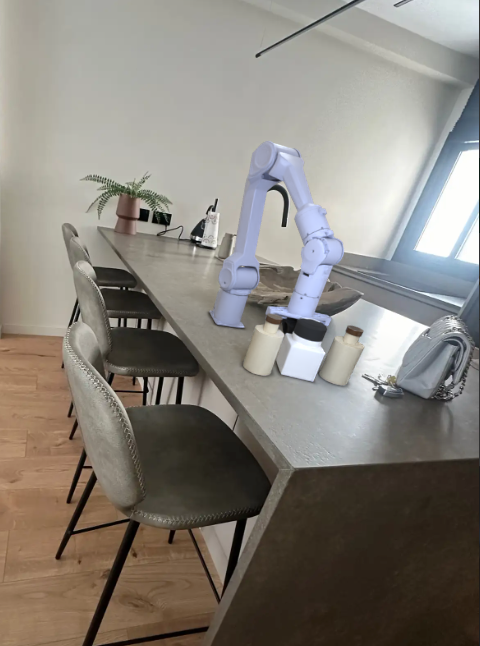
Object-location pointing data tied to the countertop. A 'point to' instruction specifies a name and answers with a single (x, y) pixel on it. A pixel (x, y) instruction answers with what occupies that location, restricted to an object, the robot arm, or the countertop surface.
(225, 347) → the countertop surface
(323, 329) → the medicine bottle
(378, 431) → the countertop surface
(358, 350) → the cream bottle far
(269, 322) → the cream bottle near
